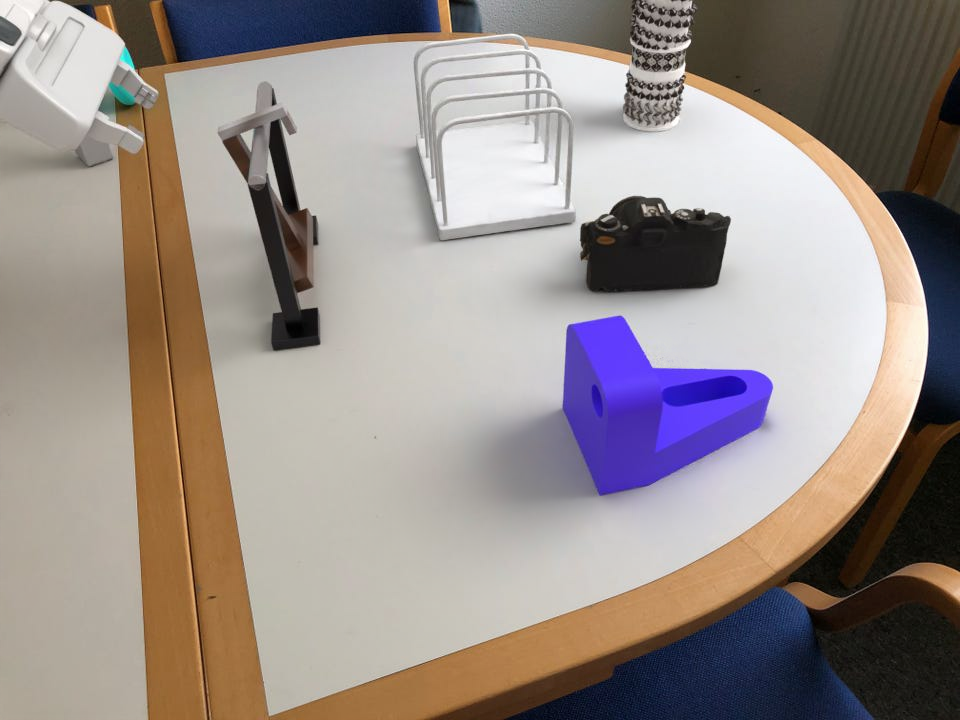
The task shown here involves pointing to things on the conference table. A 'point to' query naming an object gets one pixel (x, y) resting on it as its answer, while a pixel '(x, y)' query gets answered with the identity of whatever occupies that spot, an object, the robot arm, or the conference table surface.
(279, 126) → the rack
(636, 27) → the white patterned cylinder
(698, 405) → the bracket
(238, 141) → the headphone stand
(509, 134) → the file sorter
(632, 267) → the film camera
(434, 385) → the conference table surface
